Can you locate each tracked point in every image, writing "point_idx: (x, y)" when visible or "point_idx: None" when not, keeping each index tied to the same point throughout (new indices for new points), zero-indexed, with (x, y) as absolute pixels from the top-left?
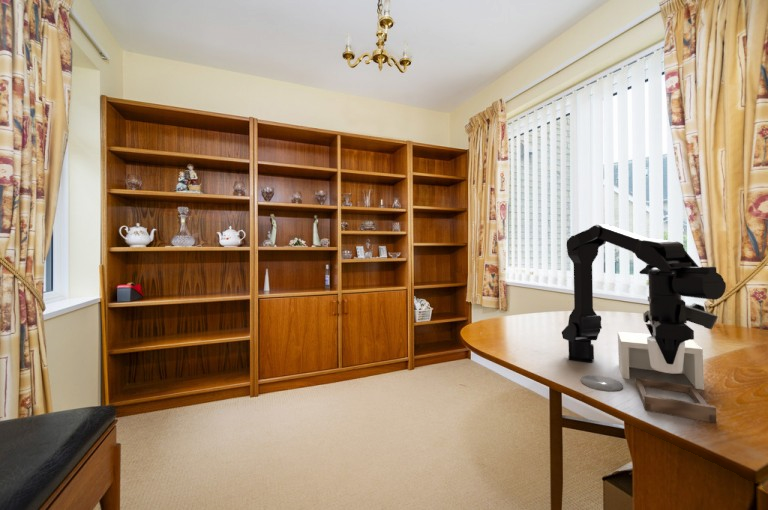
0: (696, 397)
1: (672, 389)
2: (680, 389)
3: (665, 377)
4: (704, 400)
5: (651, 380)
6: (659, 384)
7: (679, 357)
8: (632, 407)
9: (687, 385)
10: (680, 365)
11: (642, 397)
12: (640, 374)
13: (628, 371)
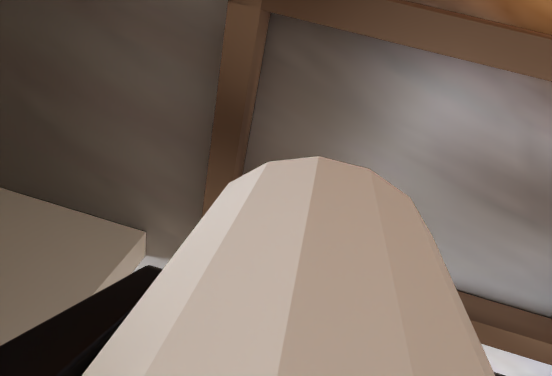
0: (473, 61)
1: (253, 94)
2: (259, 55)
3: (14, 21)
4: (542, 38)
5: (210, 194)
6: (237, 162)
7: (490, 373)
8: (530, 368)
9: (233, 6)
10: (435, 257)
11: (490, 343)
12: (36, 146)
13: (123, 262)
